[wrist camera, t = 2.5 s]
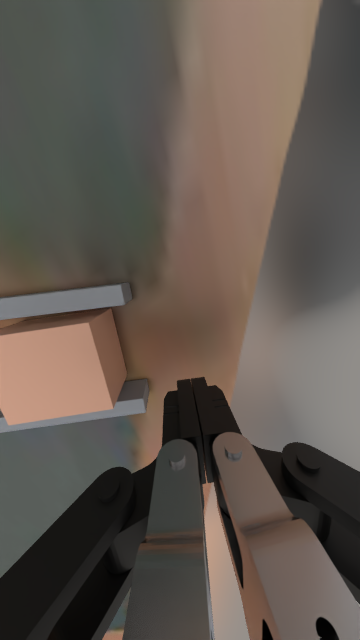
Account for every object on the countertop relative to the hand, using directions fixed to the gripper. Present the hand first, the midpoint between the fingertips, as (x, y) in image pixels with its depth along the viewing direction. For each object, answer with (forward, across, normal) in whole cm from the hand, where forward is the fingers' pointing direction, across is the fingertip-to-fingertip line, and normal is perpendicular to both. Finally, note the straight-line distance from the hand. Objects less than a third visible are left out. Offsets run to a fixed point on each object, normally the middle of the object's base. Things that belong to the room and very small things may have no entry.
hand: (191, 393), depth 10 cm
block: (+8, +10, 0) cm, 13 cm away
